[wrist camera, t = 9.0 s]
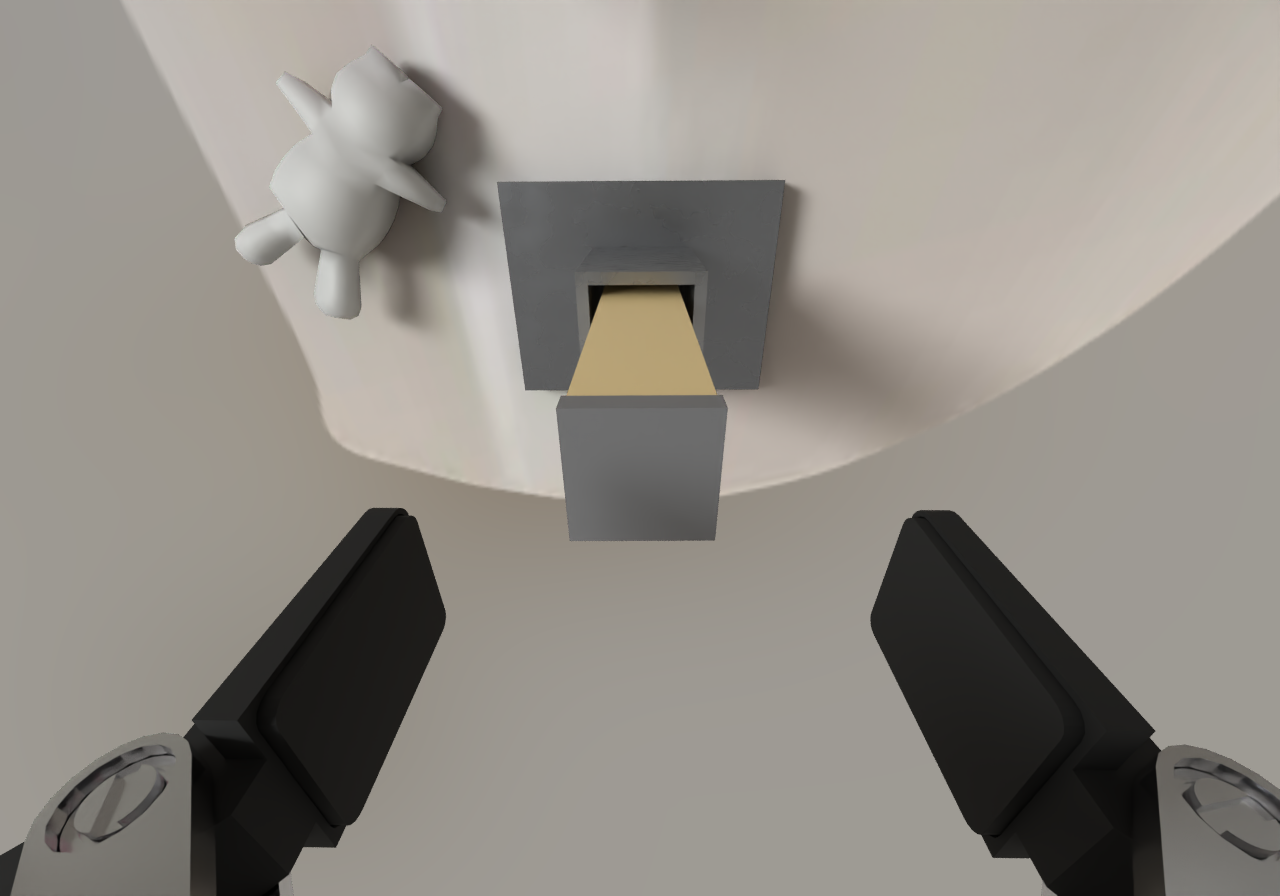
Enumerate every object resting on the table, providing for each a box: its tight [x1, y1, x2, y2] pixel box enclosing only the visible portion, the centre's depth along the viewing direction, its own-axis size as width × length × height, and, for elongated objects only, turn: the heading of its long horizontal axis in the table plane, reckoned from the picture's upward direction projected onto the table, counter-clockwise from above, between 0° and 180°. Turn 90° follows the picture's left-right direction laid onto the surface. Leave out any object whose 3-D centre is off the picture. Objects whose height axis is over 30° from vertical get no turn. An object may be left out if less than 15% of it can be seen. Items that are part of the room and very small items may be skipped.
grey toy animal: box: [235, 44, 447, 319], centre depth 29 cm, size 10×5×15 cm
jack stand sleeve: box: [497, 180, 785, 390], centre depth 29 cm, size 18×14×12 cm
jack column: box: [556, 285, 728, 541], centre depth 20 cm, size 4×4×17 cm
